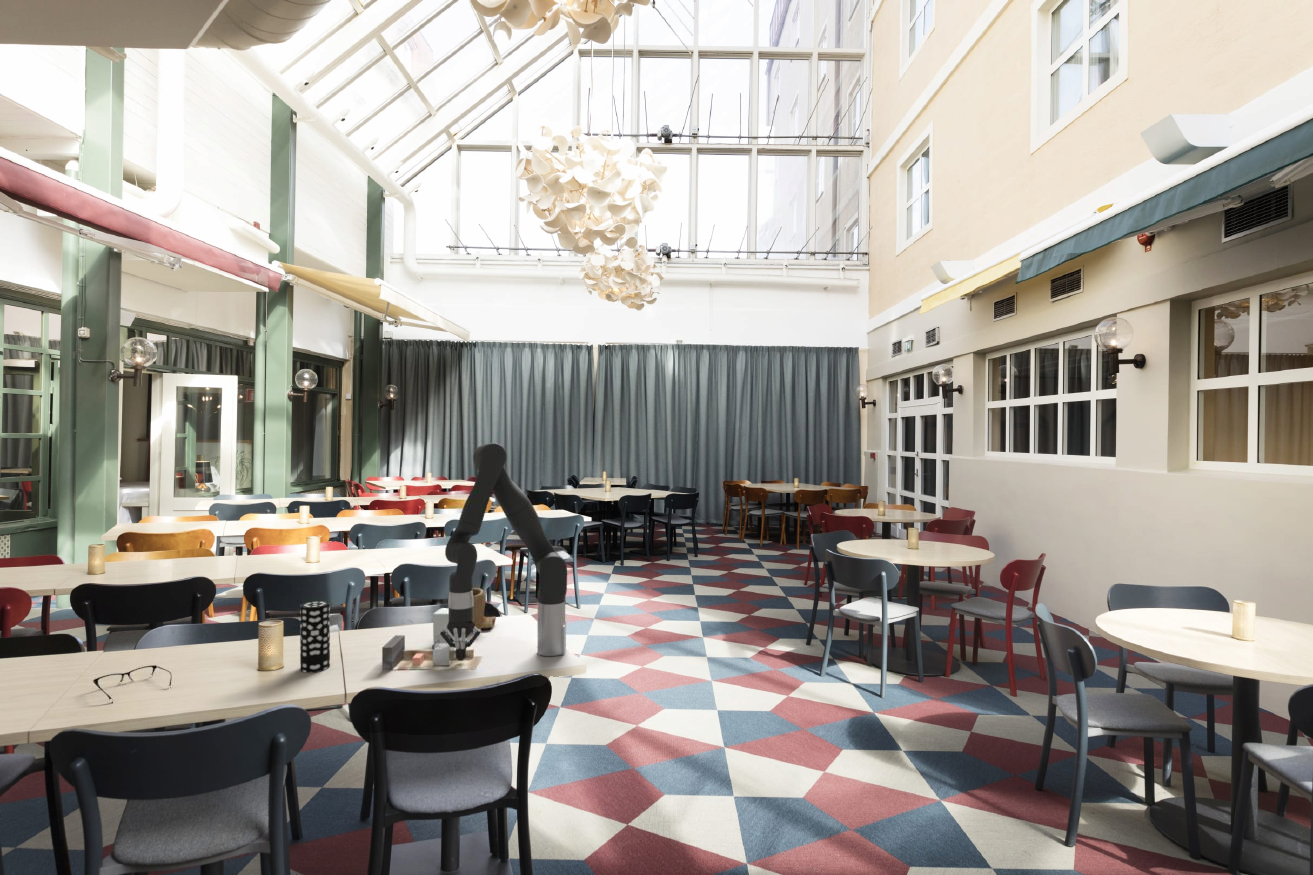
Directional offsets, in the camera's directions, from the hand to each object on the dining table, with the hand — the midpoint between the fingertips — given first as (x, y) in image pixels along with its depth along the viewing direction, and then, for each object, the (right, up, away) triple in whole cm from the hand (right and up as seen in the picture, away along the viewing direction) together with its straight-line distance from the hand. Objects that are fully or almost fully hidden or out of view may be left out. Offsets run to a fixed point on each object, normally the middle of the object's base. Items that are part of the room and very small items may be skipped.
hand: (461, 659), depth 218 cm
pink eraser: (-13, -1, 0) cm, 13 cm away
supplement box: (-10, -2, +20) cm, 22 cm away
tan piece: (-6, -2, +41) cm, 41 cm away
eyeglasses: (-88, -3, -19) cm, 91 cm away
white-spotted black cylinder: (-45, -2, -1) cm, 45 cm away
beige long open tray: (-8, -2, 0) cm, 9 cm away
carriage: (-6, -1, 0) cm, 6 cm away
